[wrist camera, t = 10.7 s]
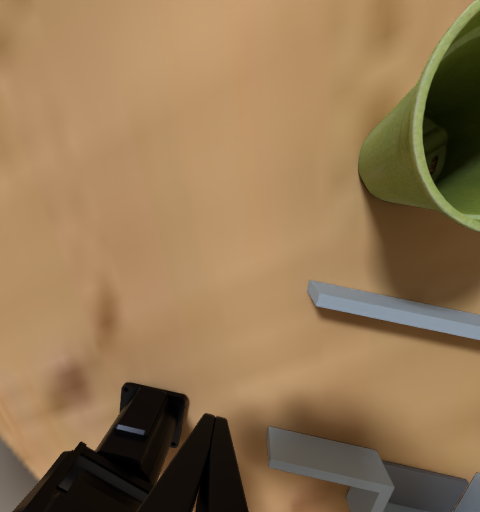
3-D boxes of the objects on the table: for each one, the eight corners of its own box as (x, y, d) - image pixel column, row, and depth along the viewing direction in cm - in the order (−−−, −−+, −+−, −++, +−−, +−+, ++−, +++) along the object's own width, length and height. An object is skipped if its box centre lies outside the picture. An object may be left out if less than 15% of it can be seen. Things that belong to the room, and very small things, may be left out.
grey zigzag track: (534, 540, 23) (574, 588, 20) (254, 476, 24) (254, 513, 21) (723, 286, 17) (822, 303, 14) (329, 209, 17) (344, 209, 15)
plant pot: (354, 77, 15) (471, -79, 7) (491, 97, 15) (787, -41, 7) (320, 211, 18) (381, 216, 9) (440, 232, 17) (617, 256, 9)
